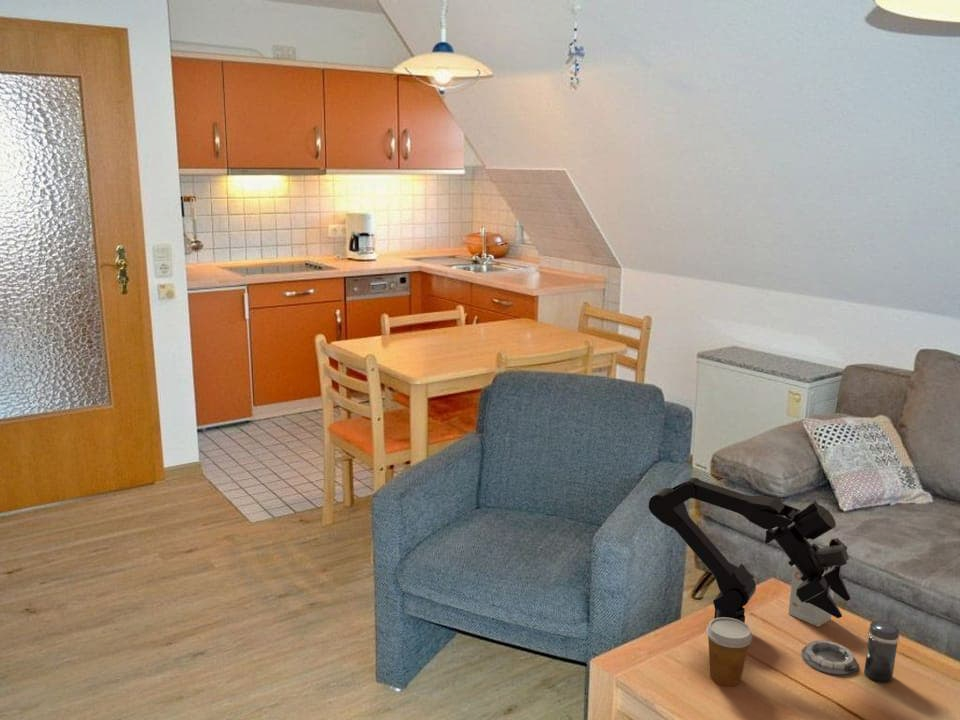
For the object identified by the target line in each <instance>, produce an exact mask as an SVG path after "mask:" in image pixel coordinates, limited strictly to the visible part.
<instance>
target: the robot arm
mask: <svg viewBox="0 0 960 720" xmlns="http://www.w3.org/2000/svg"><path fill="white" fill-rule="evenodd" d="M690 499H694V500H696V501H699V502H704V503H707V504H709V505H712V506H715V507H717V508H718V507H719V508H721V509H724V510H726V511H727V510H728V511H730V512H733V513H736V514H738V515H741V516H743V518H745V519H746V520H747V521H748V522H750V523H752V524H754V525H755V526H757V527H759V528H761V529H763V530H765V540H764V543H765V544H769V543H771V542H772V541H775V543H776V544H777V545H778V547H779V548H780V549H781V550H782V551H783V553H784V554H785V555H786V556H787V558H788V559H789V560H788V562H787V563H788V565H789V566H791V567H792V566H794V565H795V567H796V568H797V569H798V571H799V572H800V573H801V574H802V576H801V578H800V579H801V580H802V581H803V583H801V584H800V585H799V587H798V588H797V591H796V596H797V597H798V598H799V600H800V601H801V602H804V601H805V603H810V604H812V605H814V606H816V607H818V608H820V609H822V610H824V611H826V612H827V613H829V614H831V616H833V617H834V618H836V619H840V618H842V617H843V614H842V612H841V610H840V609H839V607H838V606H837V604H836V603H835V601H834V598H833V599H832V598H831V596H830V594H829V592H830V589H831V590H832V591H834V594H836V595H837V596H839V597H840V598H842V599H843V600H845V601H846V602H848V601H851V599H852V598H851V596H850V593H849V591H848V588H847V587H846V584H845V582H844V580H843V577H842V574H841V572H842V567H843V566H845V565H846V564H847V563H848V562H847V561H848V560H850V557H849V553H848V546H847V545H845V543H844V542H842V541H841V540H840V539H839V538H838V537H837V538H831V539H830V541H829V543H828V545H826V546H824V547H821V548H820V547H819V546H818V544H816V543H814V542H813V543H810V542H809V540H813V541H814V540H816V539H818V538H819V537H821V536H823V535H824V534H826V533H828V532H829V531H831V530H833V529H835V528H836V526H837V524H836V520H835V518H834V516H833V515H832V513H831V512H830V510H829V509H826V508H825V507H824V506H823V505H820V504H818V502H817V501H815V500H814V501H812V502H810V503H809V504H808V505H807V506H806V507H804V508H803V509H799V508H796V507H793V506H790V505H788V504H786V503H784V502H782V500H780V499H779V498H777V497H773V496H767V495H749V494H744V493H741V492H738V491H734V490H731V489H728V488H725V487H722V486H720V485H716V484H713V483H710V482H707V481H703V480H701V479H700V478H697V477H690V478H688V479H687V480H686V481H684V482H682V483H679V484H677V485H675V486H673V487H663V488H661V489H660V490H658V492H656V493H655V494H654V495H652V497H650V498H649V501H648V510H649V512H650V513H651V515H652V516H653V517H655V518H656V519H657V520H658V521H659V522H661V523H662V524H663V525H666V526H667V527H670V528H672V529H673V530H674V531H675V532H676V533H677V534H678V535H679V537H680V538H681V539H682V540H683V542H684V543H685V544H687V546H688V547H689V549H690V550H691V551H692V552H693V553H694V554H695V555H696V557H698V559H699V560H700V561H701V563H702V564H704V566H705V567H706V568H707V569H708V571H710V572H711V574H712V575H713V577H714V578H715V579H714V580H715V581H716V584H717V587H718V590H719V591H720V592H719V593H718V594H717V596H716V597H715V598H714V599H713V600H712V603H713V606H714V617H713V619H715V618H719V617H727V618H734V619H737V620H740V621H742V622H744V623H745V624H746V621H745V620H746V616H745V610H746V608H745V606H746V605H747V604H748V603H749V602H750V600H751V599H752V597H753V596H754V594H756V590H757V583H756V581H755V580H754V578H755V576H754V575H753V574H751V573H750V572H749V571H748V570H747V569H746V568H747V567H745V565H744V564H743V563H740V564H739V565H737V566H736V565H734V564H732V563H730V562H729V561H728V559H727V558H726V556H724V555H723V554H722V552H721V551H720V550H719V548H718V547H717V546H716V545H715V544H714V543H713V542H712V541H711V540H710V539H709V537H708V536H707V535H706V534H705V533H704V532H703V531H702V529H701V528H700V527H699V526H698V525H697V524H696V522H695V521H694V520H693V519H692V517H690V515H689V512H688V510H687V507H686V504H685V502H686V501H688V500H690ZM807 579H808V580H807Z"/></svg>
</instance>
